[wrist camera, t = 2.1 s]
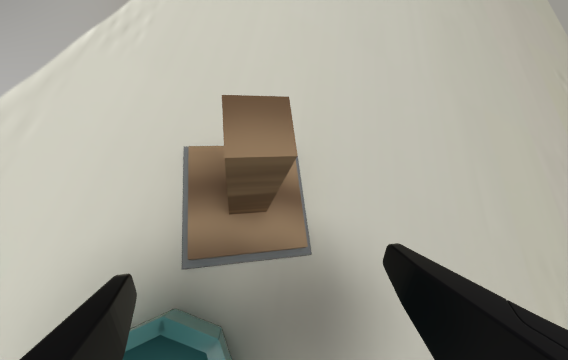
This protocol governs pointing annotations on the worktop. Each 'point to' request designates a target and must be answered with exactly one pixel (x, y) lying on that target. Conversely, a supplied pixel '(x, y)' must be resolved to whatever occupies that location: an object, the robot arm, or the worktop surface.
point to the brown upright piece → (246, 183)
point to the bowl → (176, 339)
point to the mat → (236, 258)
